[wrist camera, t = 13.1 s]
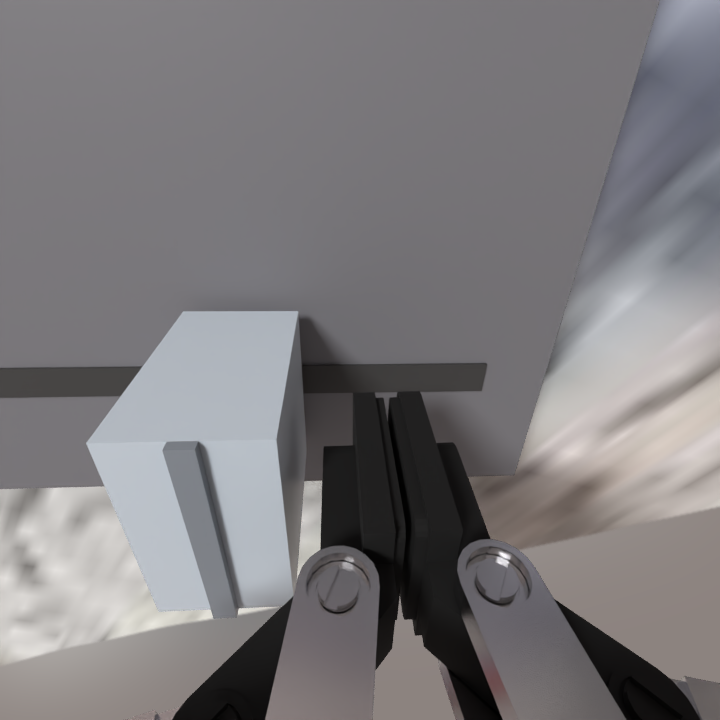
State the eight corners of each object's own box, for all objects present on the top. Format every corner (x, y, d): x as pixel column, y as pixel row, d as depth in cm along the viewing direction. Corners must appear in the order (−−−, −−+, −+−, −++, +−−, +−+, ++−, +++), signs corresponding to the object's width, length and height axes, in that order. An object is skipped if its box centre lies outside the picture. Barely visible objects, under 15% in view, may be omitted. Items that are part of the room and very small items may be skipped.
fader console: (-1020, -472, 7) (-1935, -864, 4) (665, -317, 8) (823, -520, 6) (-201, 436, 16) (-303, 499, 14) (488, 423, 18) (515, 477, 15)
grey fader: (183, 311, 11) (79, 452, 6) (298, 311, 11) (274, 447, 7) (213, 451, 13) (155, 621, 9) (306, 449, 14) (293, 614, 9)
